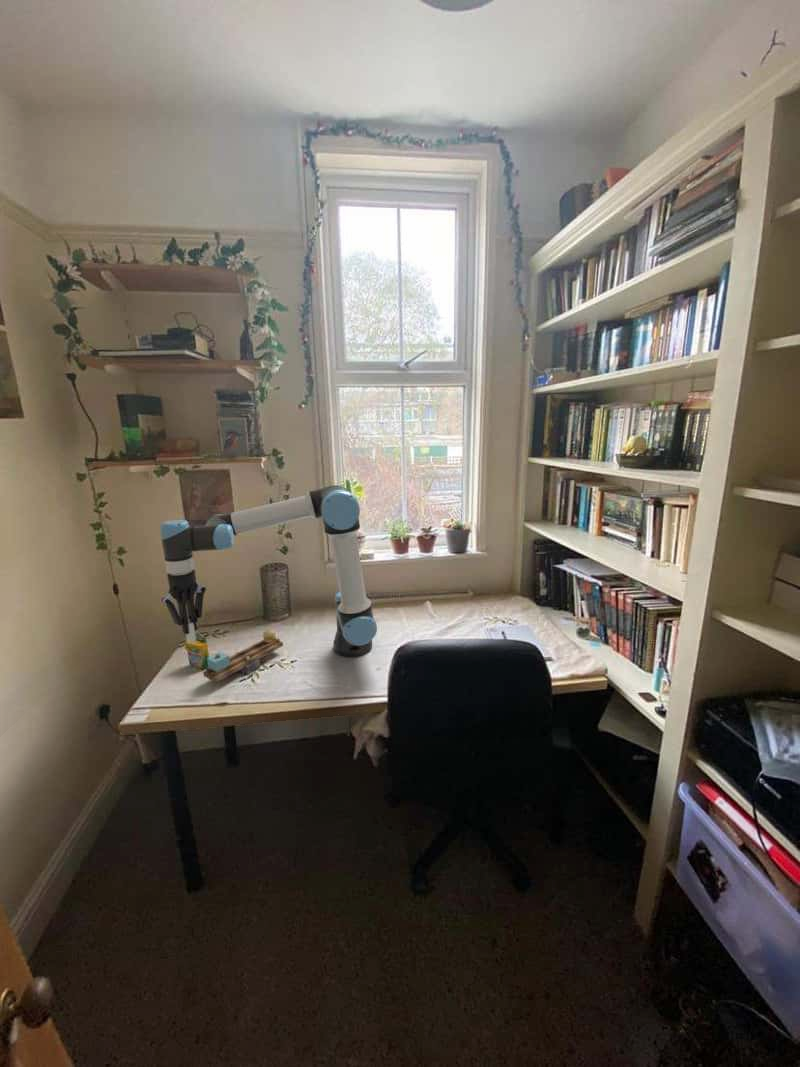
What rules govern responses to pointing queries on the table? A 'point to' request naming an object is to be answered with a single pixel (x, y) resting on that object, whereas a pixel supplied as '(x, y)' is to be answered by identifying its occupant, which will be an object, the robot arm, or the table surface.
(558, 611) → the table surface
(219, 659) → the rider
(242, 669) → the beam
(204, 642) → the crayon box
